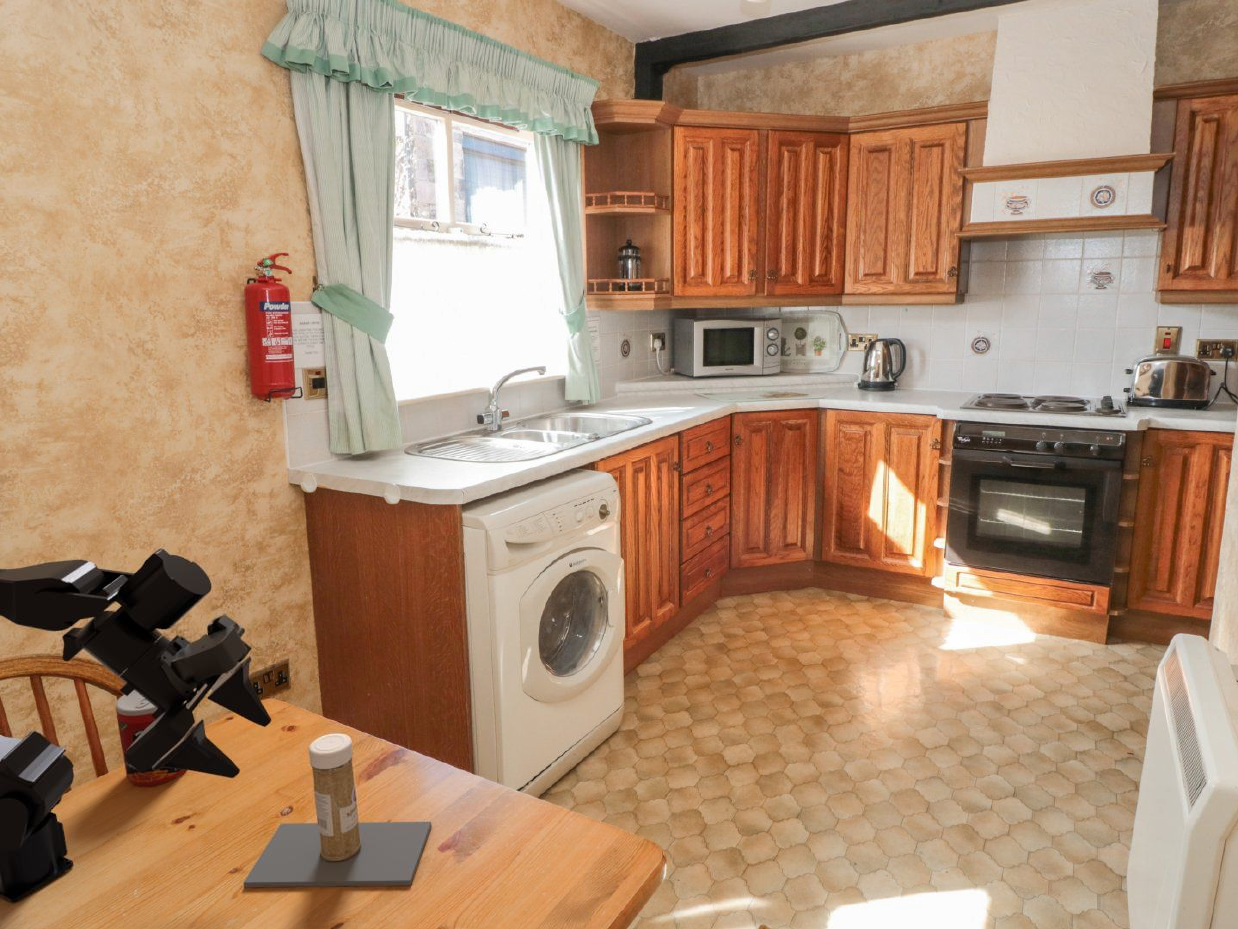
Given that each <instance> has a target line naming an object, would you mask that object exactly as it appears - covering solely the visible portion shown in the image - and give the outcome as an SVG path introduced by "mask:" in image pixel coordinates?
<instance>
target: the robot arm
mask: <svg viewBox="0 0 1238 929" xmlns="http://www.w3.org/2000/svg"><path fill="white" fill-rule="evenodd" d="M97 566H98V565H97V564H96V563H94V562H91V561H90V560H84V559H70V560H69V559H68V560H57V561H50V562H49V561H48V562H43V563H39V564H33V565H28V566H24V567H17V568H8V569H7V568H0V617H3V618H5V619H6V620H8V621H9V622H11V623H13V624H15V625H17V626H22V627H27V628H31V629H35V630H36V629H37V630H41V631H48V632H61V631H65V630H68V629H69V630H68V631H67V632H65V633H64V634H63V635H62V636H61V638H62V640H63V648H62V660H63V661H64V662H67V663H68V662H70V661H71V660H72V659H73V658H75V656H77V655H78V654H79V653H81V652H82V651H83V650H84V651H85V652H87V653H88V654H89V655H90V656H92V657H93V658H94V659H96V660H97V661H98V662H99V663H101V665H103V666H104V667H106V668H107V669H108V670H109V671H110V672H111V673H112V674H114V675H116V676H117V677H118V678H119V679H120V680H121V681H123V682H124V683H125V684H124V685H123V686H121V688H120V689H119V691H120V692H121V693H122V694H123V695H126V696H128V695H129V694H130V693H131V692H132V691H133V690H135V691H136V692H138V693H139V694H140V695H141V696H142V697H144V698H145V699H146V700H147V701H149V702H150V703H151V704H152V705H154V706H155V707H156V710H155V711H154V712H153V713H152V714H151V716H152V717H153V718H154V719H156V720H155V721H154V722H153V723H152V724H151V725H150V726H148V727H147V728H146V729H145V730H144V731H143V732H142V733H141V734H140V735H139V737H138V738H137V739H136V740H135V741H134V742H133V744H132V745H131V746H130V747H129V748H128V749H127V751H126V754H127V762H128V763H129V764H130V765H132V766H133V767H134V768H135V769H137V770H138V771H139V772H141V773H142V774H144V773H145V772H146V771H147V770H148V769H149V768H150V767H152V766H153V765H154V764H155V763H156V764H155V765H154V766H153V768H152V769H153V770H155V771H158V770H159V769H160V768H161V767H163V768H173V769H183V770H186V771H192V772H198V773H203V774H208V775H213V776H218V777H223V778H224V777H225V778H229V779H234V778H236V776H238V775H239V774H240V773H241V769H240V767H238V766H237V764H236V763H235V762H234V761H233V760H232V759H231V758H230V757H229V756H228V755H227V754H226V753H225V752H224V751H222V749H220V748H219V747H218V746H217V745H216V744H214V743H213V741H212V740H210V739H209V738H208V737H207V735H206V728H205V723H204V722H205V721H204V719H203V718H201V719H200V720H199V722H197V723H196V720H195V717H194V711H195V710H196V708H197V707H198V706H199V704H200V703H201V702H202V700H203V699H204V698H205V696H206V695H207V694H208V693H209V691H210V690H211V692H210V693H209V695H207V699H208V700H209V701H211V702H213V703H215V704H217V705H218V706H220V707H222V708H224V709H227V710H228V711H230V712H232V713H234V714H236V715H239V716H240V717H242V718H244V719H246V720H247V721H250V722H251V723H253V724H256V725H258V726H261V727H263V728H265V727H267V726H268V725H270V724H271V722H272V718H271V717H270V715H269V713H268V711H267V709H266V708H265V706H264V704H263V702H262V701H261V699H260V697H259V696H258V693H257V692H256V690H255V688H254V686H253V684H252V682H251V680H250V664H251V662H252V657H251V656H248V655H249V653H250V652H251V650H252V647H251V646H250V645H248V644H247V643H246V642H245V641H244V640H243V639H242V637H243V635H244V634H245V633H246V629H245V628H244V627H242V626H240V625H239V623H238V622H236V621H235V620H233V619H232V618H230V617H229V616H227V614H222V615H220V616H218V617H214V619H212V621H211V622H210V623H209V624H208V625H207V627H206V629H207V631H206V632H207V633H205V634H203V635H202V636H201V637H200V638H198V639H197V640H195V641H192V642H191V641H189V640H188V639H186V638H185V637H184V636H182V635H181V636H180V635H178V634H176V635H175V636H174V637H173V638H172V639H171V640H170V639H169V638H168V637H166V635H164V634H163V633H162V632H161V631H159V630H169V629H171V628H173V627H174V626H175V625H176V624H177V623H179V621H180V620H181V619H182V618H184V616H186V615H187V614H188V613H189V612H190V611H191V610H192V609H194V607H195V606H197V604H199V603H200V602H202V600H203V599H204V598H205V597H206V596H207V595H208V594H209V593H210V592H211V591H212V582H211V579H210V577H209V576H208V574H207V573H206V571H205V570H204V569H203V568H202V567H201V566H200V565H199V564H198V563H196V562H195V561H191V560H189V559H187V558H185V557H183V556H180V555H176V554H170V553H169V552H168V551H166V550H165V549H164V548H163V547H162V548H158V549H157V550H156V551H154V552H153V553H152V554H151V555H149V557H148V558H147V559H146V560H144V562H143V563H142V564H141V567H140V568H139V569H138V570H137V571H136V572H127V571H119V570H114V569H113V570H112V569H104V568H98V567H97ZM115 603H117V604H119V606H120V607H119V608H117V609H116V610H107V609H108V608H110V607H111V606H112V605H113V604H115ZM86 619H90V620H89V621H88V622H87V623H86V624H85V625H83V626H82V627H73V626H74V625H76V624H78V622H80V621H81V620H86ZM246 657H247V658H246ZM245 658H246V659H245ZM243 660H244V661H243ZM207 699H206V700H207ZM195 723H196V724H195ZM194 724H195V725H194ZM66 751H67V749H66V748H64V747H61V746H57V745H55V744H53V743H52V742H50V741H49V740H48V739H47V738H46V737H45V736H44V735H43V734H42V733H40V732H38V731H36V730H32V731H30V732H29V733H28V734H27V735H26V736H25V737H24V738H23V739H22V738H17V737H16V738H15V737H7V736H4V735H1V734H0V898H2V899H4V900H5V901H8V902H10V903H15V902H16V903H17V902H18V901H20V900H21V899H23V898H25V897H26V896H28V895H29V894H31V893H32V892H35V891H36V890H38V889H39V888H41V887H43V886H45V885H46V884H47V883H49V882H51V881H52V880H54V879H55V878H57V877H58V876H60V875H63V874H64V873H65V872H66V871H68V870H70V869H72V868H73V867H74V861H73V860H72V859H69V858H67V857H66V856H67V855H68V852H69V851H68V847H67V841H66V835H65V829H64V824H63V822H61V821H58V816H57V814H56V813H54V812H52V811H53V809H54V808H56V806H58V805H59V804H60V803H61V802H62V798H63V796H64V795H65V794H66V792H67V791H68V790H69V789H70V787H71V785H72V784H73V782H74V778H75V773H74V766H75V765H74V764H73V762H72V761H71V759H70V758H69V757H68V756H67V755H65V754H64V753H66Z"/></svg>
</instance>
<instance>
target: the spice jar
mask: <svg viewBox="0 0 1238 929" xmlns="http://www.w3.org/2000/svg"><path fill="white" fill-rule="evenodd" d="M353 756H354V747H353V741H352V738H351V737H350V736H349V735H347V734H345V733H329V734H325V735H323V736H319V737H318V738H316V739H315V740H313V741H312V742H311V743H310V744H309V747H308V757H309V759H308V760H309V764H310V766H311V769H312V770H311V771H312V778H313V794H314V803H315V810H316V820H317V821H316V822H317V823H318V829H319V832H320V842H321V848H320V853H321V856H322V857H323V858H324V859H326V860H329V861H341V860H344V859H347V858H349V857H351V856H353V855H354V854H356V853H357V852H358V850H359V849H360V847H361V843H362V842H361V838H360V834H359V824H358V823H359V811H358V810H359V809H358V801H357V791H356V782H355V777H354V776H355V775H354V766H353Z"/></svg>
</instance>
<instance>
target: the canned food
mask: <svg viewBox="0 0 1238 929" xmlns="http://www.w3.org/2000/svg"><path fill="white" fill-rule="evenodd" d="M155 710H156V707H155V706H154V705H152V704H151V703H150V702H149V701H147V700H146V699H145V698H144V697H142V696H141V695H140V694H139V693H138V692H136V691H135V690H133V691H132V692H131V693H130V694H129V695H128V696H126V695H125V694H123V695H122V696H120V697H119V698H118V699H117V701H116V703H115V713H116V718H117V725H118V731H119V732H118V733H119V738H120V744H121V750H122V755H123V756H122V758H123V761H124V769H125V775H126V777H127V779H128V781H129V783H131V785H134V786H136V787H141V788H143V787H144V788H145V787H146V788H147V787H155V786H158V785H163V784H166V783H169V782H170V781H173V780H175V779H177V778H178V777H180V776H181V775H183V774H184V773H185V772H186V771H187V770H183V769H173V768H163V767H161V768H160V769H159V770H158V771H155V770H153V769H152V768H153V766H154V765H155V764H156V763H155V764H154V765H153V766H152V767H150V768H149V769H148V770H147V771H146V772H145V773H144V774H142V773H141V772H139V771H138V770H137V769H135V768H134V767H133V766H132V765H130V764H129V763H128V762H127V754H126V751H127V749H128V748H129V747H130V746H131V745H132V744H133V742H134V741H135V740H136V739H137V738H138V737H139V735H140V734H141V733H142V732H143V731H144V730H145V729H146V728H147V727H148V726H150V725H151V724H152V723H153V722H154V721H155V720H156V719H154V718H153V717H152V716H151V714H152V713H153V712H154V711H155Z"/></svg>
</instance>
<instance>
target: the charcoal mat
mask: <svg viewBox="0 0 1238 929" xmlns="http://www.w3.org/2000/svg"><path fill="white" fill-rule="evenodd" d="M358 824H359V834H360V838H361V842H362V843H361V847H360V849H359V850H358V852H357V853H356V854H354V855H353V856H351V857H349V858H347V859H344V860H341V861H329V860H326V859H324V858H323V857H322V856H321V853H320V848H321V842H320V832H319V829H318V822H311V823H310V822H308V823H307V822H304V823H301V822H299V823H296V822H295V823H292V822H291V823H280V825H279V826H278V828H277V829H276V831H275V832H274V833H273V836H272V837H271V838H270V840H269V842H268V843H267V845H266V847H265V848H264V849H263V851H262V852H261V854H260V856H259V858H257V860H256V862H255V864H254V865H253V867H252V868H251V870H250V872H249V873H248V875H247V876H246V877H245V879H244V881H243V887H244V888H280V887H281V888H283V887H284V888H286V887H287V888H294V887H296V888H297V887H363V886H364V887H365V886H366V887H375V886H385V887H386V886H411V885H412V882H413V880H414V877H415V874H416V872H417V869H418V866H419V863H420V860H421V857H422V854H423V851H424V848H425V845H426V842H427V840H428V837H429V835H430V832H431V830H432V821H380V822H379V821H373V822H372V821H370V822H358Z"/></svg>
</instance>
